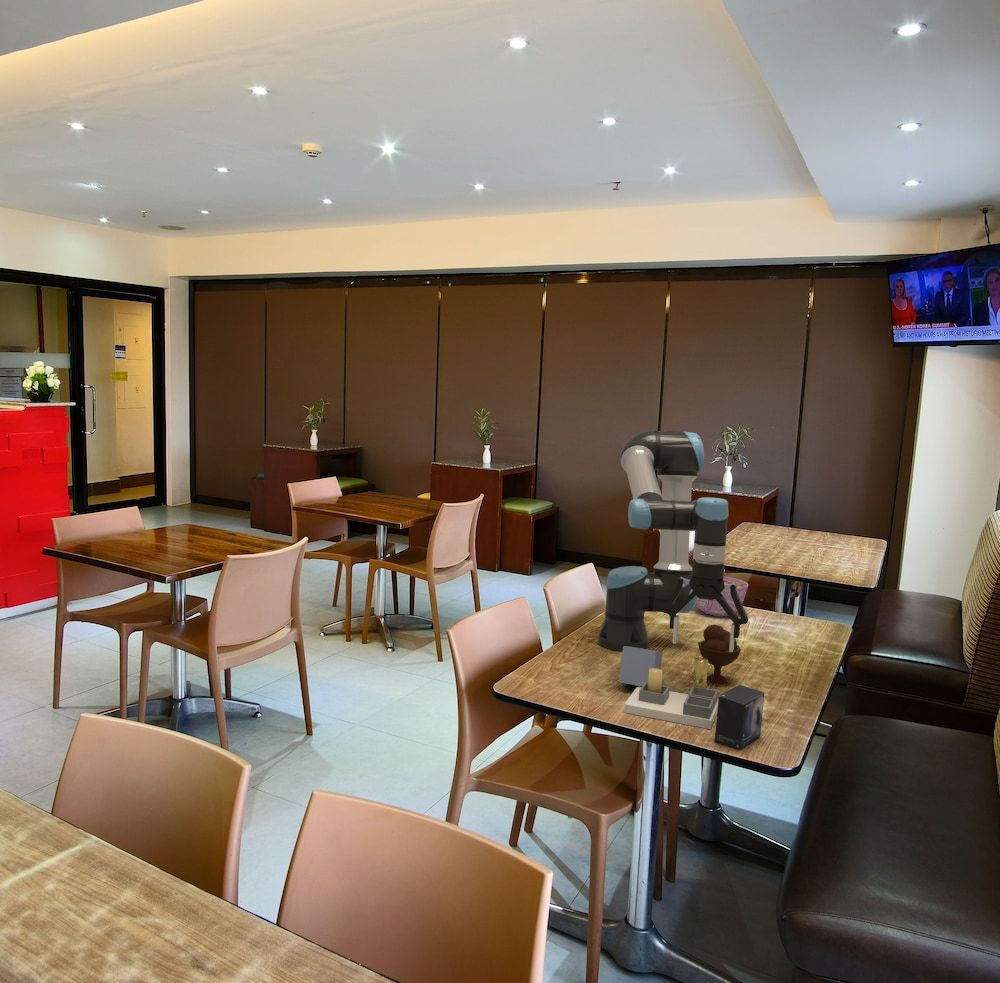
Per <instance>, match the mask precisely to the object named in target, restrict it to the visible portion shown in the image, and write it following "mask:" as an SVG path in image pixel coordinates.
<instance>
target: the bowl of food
mask: <svg viewBox="0 0 1000 983" xmlns="http://www.w3.org/2000/svg"><path fill="white" fill-rule="evenodd" d="M723 581H724V584H732V583H736V585H737V593H738V596H739V598H740V600H741V603H742V604H743V603H744V600H745V596H746V595H747V594H746V593H747V591H748V589H749V583H748V582H747V581H745V580H742V579H739V578H734V577H729V576H724V578H723ZM721 594H722V595H723V596H724V598H725V600H726V601H727V603H728V604H729V605H730V607H731V608H732V609H733V611H734V612H735V613H736V612H737V613H738V611H737V609H736V606H735V604H734V602H733V599H732V597H731V593H728V591H727V589H724V590H723V591H722V592H721ZM695 606H696V607H697V609H699V610H700V611H702V612H703V613H707V614H710V615H709V616H711V615H713V616H712V617H717V616H721V618H723V617H722V616H725V617H729V616H728V615H727V613H726V612H725V611H724V609H723V608H722V607H721V605H720V604H719V603H718V602H717V601H716V599H714V600H708V599H699V598H698V597H697V601H696V604H695ZM707 614H706V615H707Z"/></svg>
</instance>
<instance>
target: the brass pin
mask: <svg viewBox="0 0 1000 983" xmlns="http://www.w3.org/2000/svg"><path fill="white" fill-rule="evenodd" d="M708 668H709V663H708V659H706V658H703V657H702V656H701V657H695V658H694V667H693V669H694V670H693V681H692V682H693V683H692V687H693V686H694V687H700V688H706V689H707V684H708V683H707V682H708V681H707V676H708Z"/></svg>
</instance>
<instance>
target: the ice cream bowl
mask: <svg viewBox="0 0 1000 983" xmlns="http://www.w3.org/2000/svg"><path fill="white" fill-rule="evenodd" d="M730 632H731V631H728V630H726V629H724V627H722V626H721V625H719V624H710V625H708V626H707V627H706V628H705V629H703V632H702V634H703V635H702V636H703V639H704V640H701V641H698V642H697V645H698V650H699V653H700V655H701V658H706V659H708V664H710V665H711V666H713V673H712V674H710V675H707V682H709V683H711V684H714V685H715V684H717V685H724V684H727V683H728V680H727V678H726V677H725V676H724V675H722V672H721V670H722V668H723V667H726V666H728V665H730V664H732V663H734V662H735V661H736V660H738V658H739V656H740V653H741V650H742V649H741V647H740V645H739V644H737V640H736V639H737V638H734V650H733V652H729V646H730Z"/></svg>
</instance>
